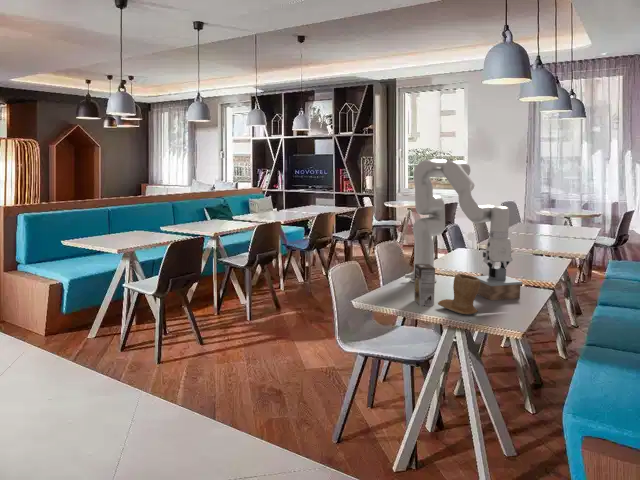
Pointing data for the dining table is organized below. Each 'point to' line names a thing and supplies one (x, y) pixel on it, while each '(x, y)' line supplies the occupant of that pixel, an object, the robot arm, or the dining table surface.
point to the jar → (484, 266)
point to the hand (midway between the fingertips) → (497, 276)
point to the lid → (498, 278)
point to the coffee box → (424, 284)
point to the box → (499, 291)
